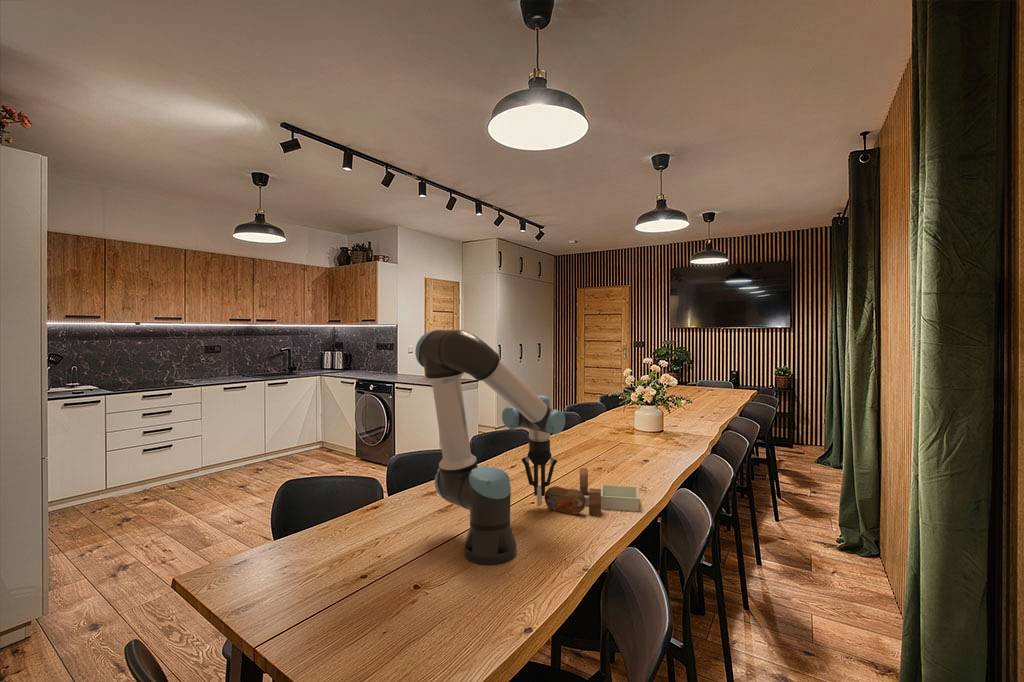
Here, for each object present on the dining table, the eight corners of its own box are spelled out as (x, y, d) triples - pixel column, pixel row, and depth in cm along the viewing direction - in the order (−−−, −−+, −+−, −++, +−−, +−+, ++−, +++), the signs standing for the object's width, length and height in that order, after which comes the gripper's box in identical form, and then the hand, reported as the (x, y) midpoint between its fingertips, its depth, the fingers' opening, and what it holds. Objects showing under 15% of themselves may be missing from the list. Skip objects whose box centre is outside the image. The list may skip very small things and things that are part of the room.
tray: (638, 511, 168) (638, 498, 168) (600, 508, 171) (600, 496, 171) (637, 498, 181) (637, 486, 181) (601, 496, 184) (601, 484, 184)
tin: (544, 508, 171) (544, 485, 171) (548, 506, 174) (548, 483, 174) (583, 517, 163) (583, 492, 163) (586, 514, 166) (586, 489, 166)
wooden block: (600, 515, 164) (600, 492, 164) (589, 514, 165) (588, 492, 165) (600, 511, 168) (600, 488, 168) (589, 510, 169) (589, 488, 169)
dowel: (587, 503, 177) (587, 470, 177) (579, 502, 177) (579, 470, 177) (588, 500, 180) (588, 468, 179) (580, 499, 180) (580, 468, 180)
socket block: (595, 506, 173) (595, 498, 173) (570, 504, 175) (570, 496, 175) (596, 498, 182) (596, 490, 182) (572, 496, 184) (572, 488, 184)
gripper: (558, 437, 173) (558, 502, 173) (523, 435, 175) (523, 499, 176) (556, 442, 165) (556, 509, 166) (519, 440, 168) (519, 507, 169)
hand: (539, 504), depth 171 cm, fingers closed
